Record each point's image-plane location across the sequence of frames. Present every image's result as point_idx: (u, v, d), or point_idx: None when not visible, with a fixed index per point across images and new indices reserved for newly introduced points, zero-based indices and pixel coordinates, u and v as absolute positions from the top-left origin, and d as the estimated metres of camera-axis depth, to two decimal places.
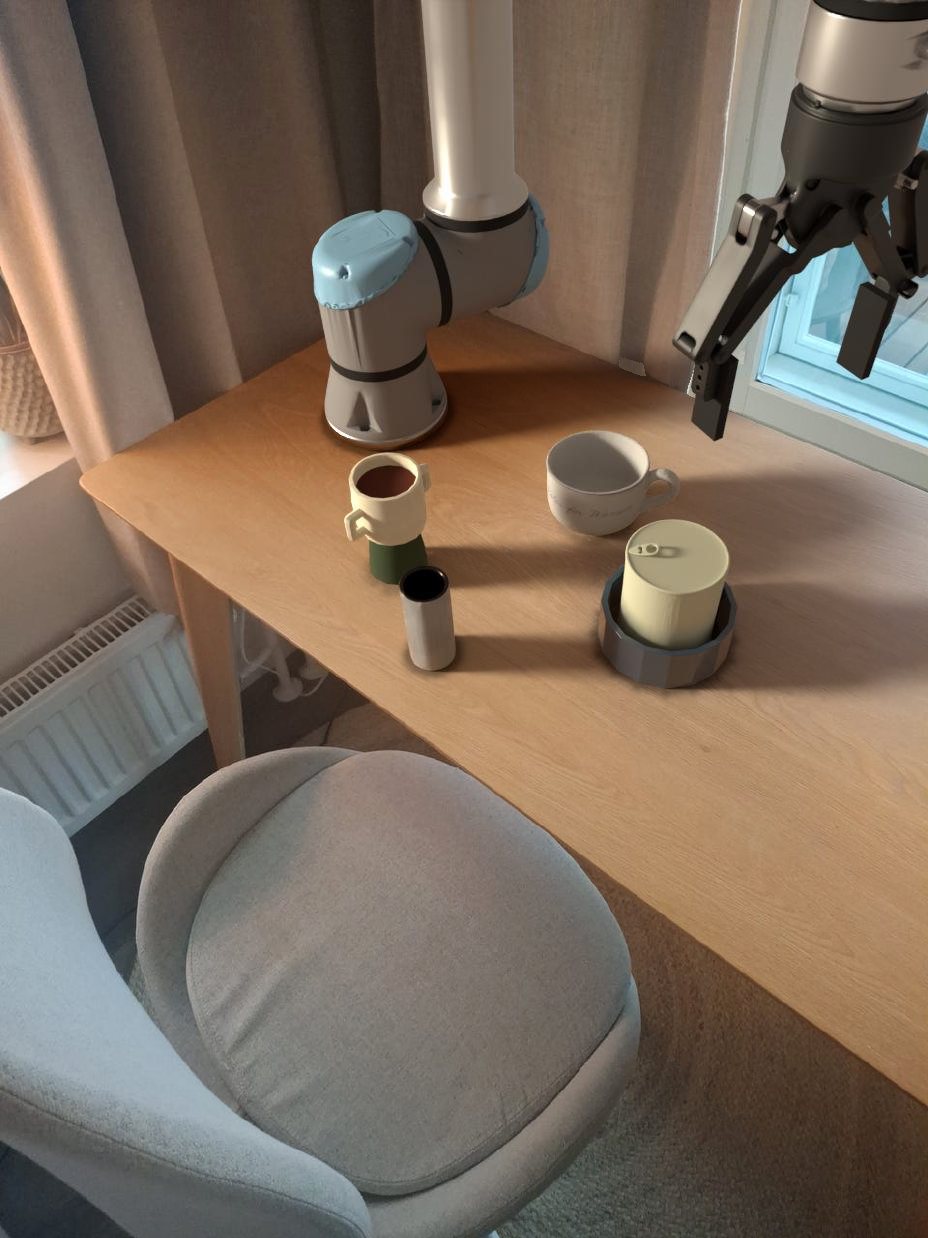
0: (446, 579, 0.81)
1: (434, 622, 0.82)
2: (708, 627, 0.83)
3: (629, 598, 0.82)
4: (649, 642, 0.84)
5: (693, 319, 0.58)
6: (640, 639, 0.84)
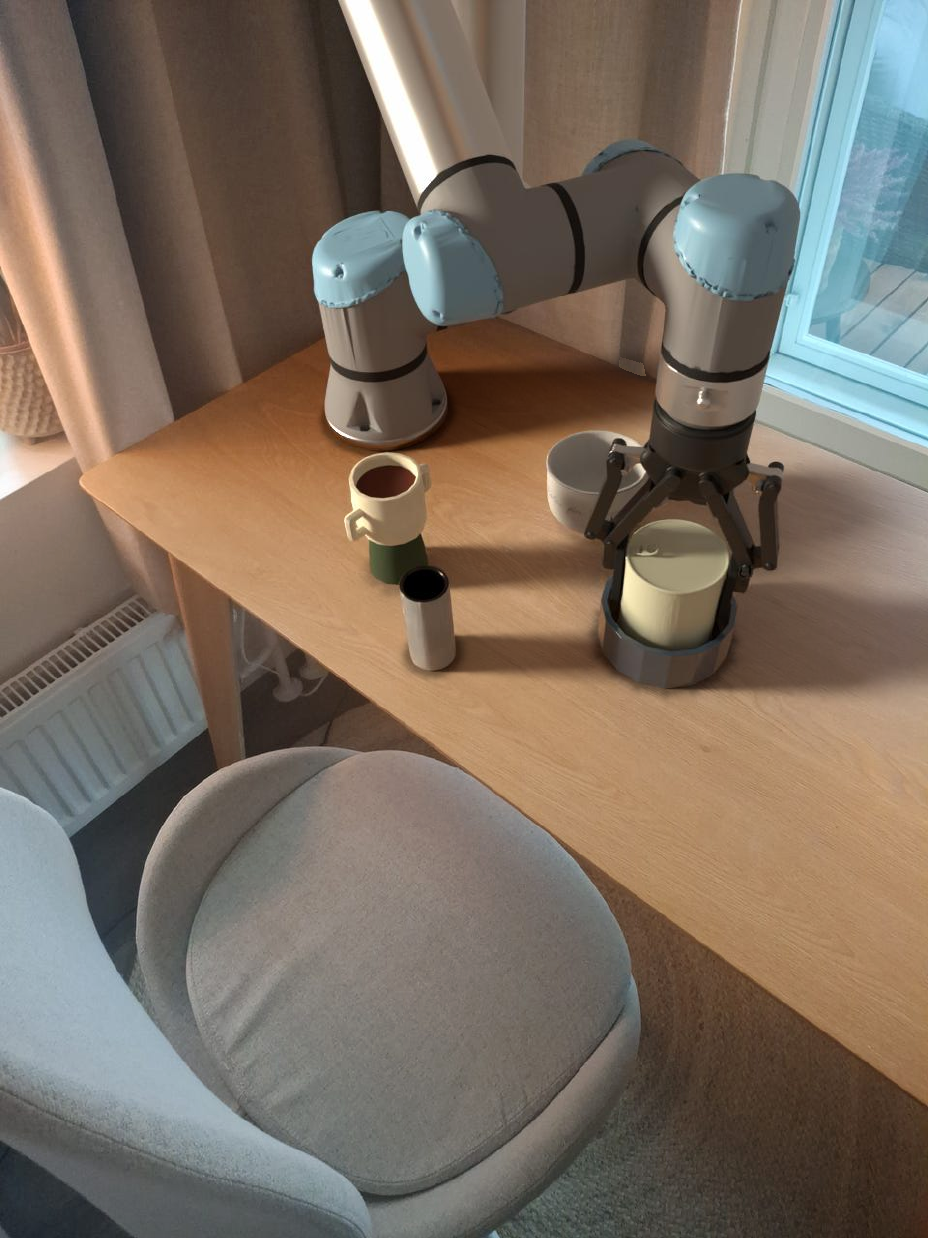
0: (446, 579, 0.81)
1: (434, 622, 0.82)
2: (708, 627, 0.83)
3: (629, 598, 0.82)
4: (649, 642, 0.84)
5: (593, 508, 0.79)
6: (640, 639, 0.84)
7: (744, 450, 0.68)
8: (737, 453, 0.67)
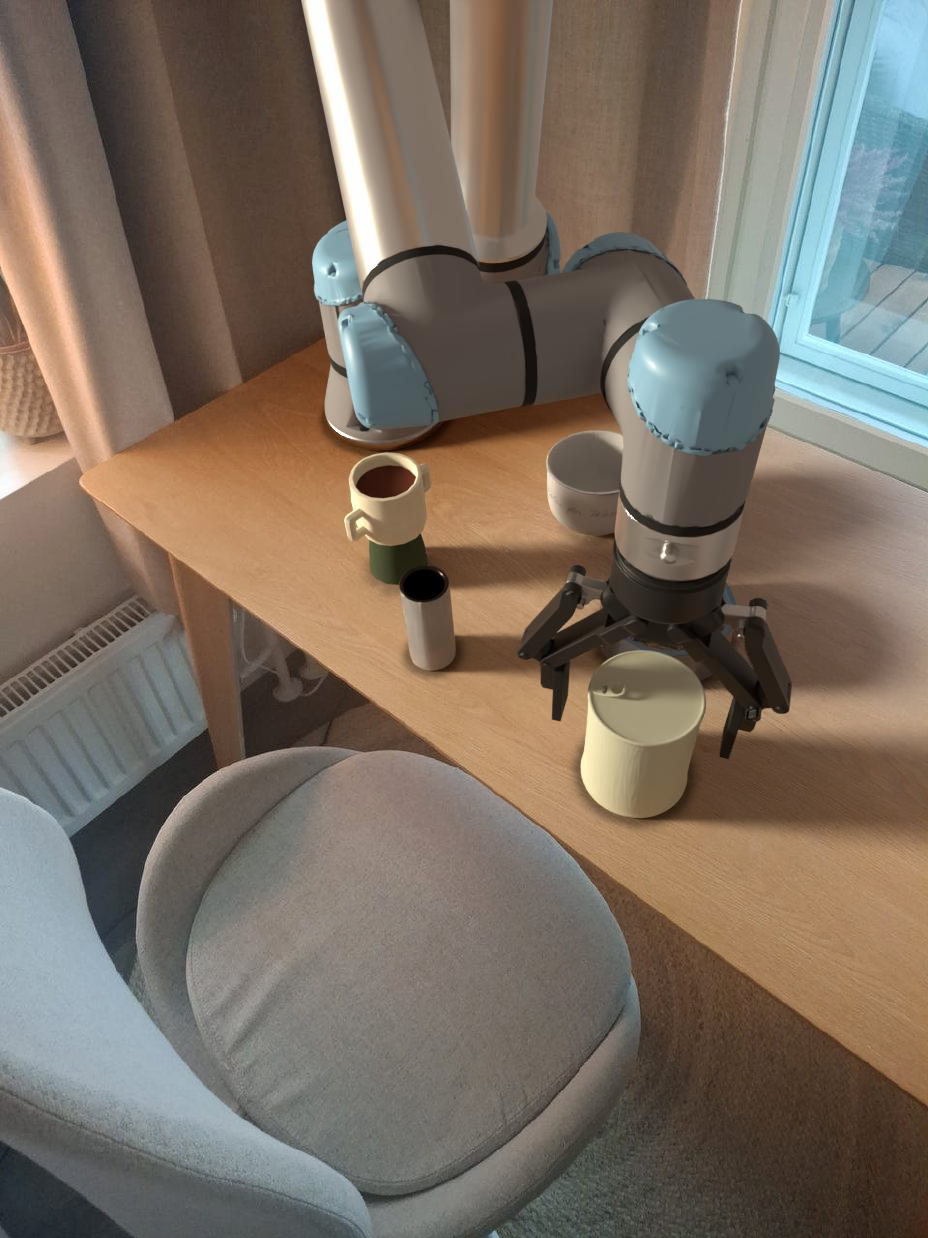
0: (446, 579, 0.81)
1: (434, 622, 0.82)
2: (682, 772, 0.74)
3: (592, 741, 0.73)
4: (616, 787, 0.74)
5: (532, 626, 0.69)
6: (606, 783, 0.75)
7: (718, 599, 0.59)
8: (710, 604, 0.58)
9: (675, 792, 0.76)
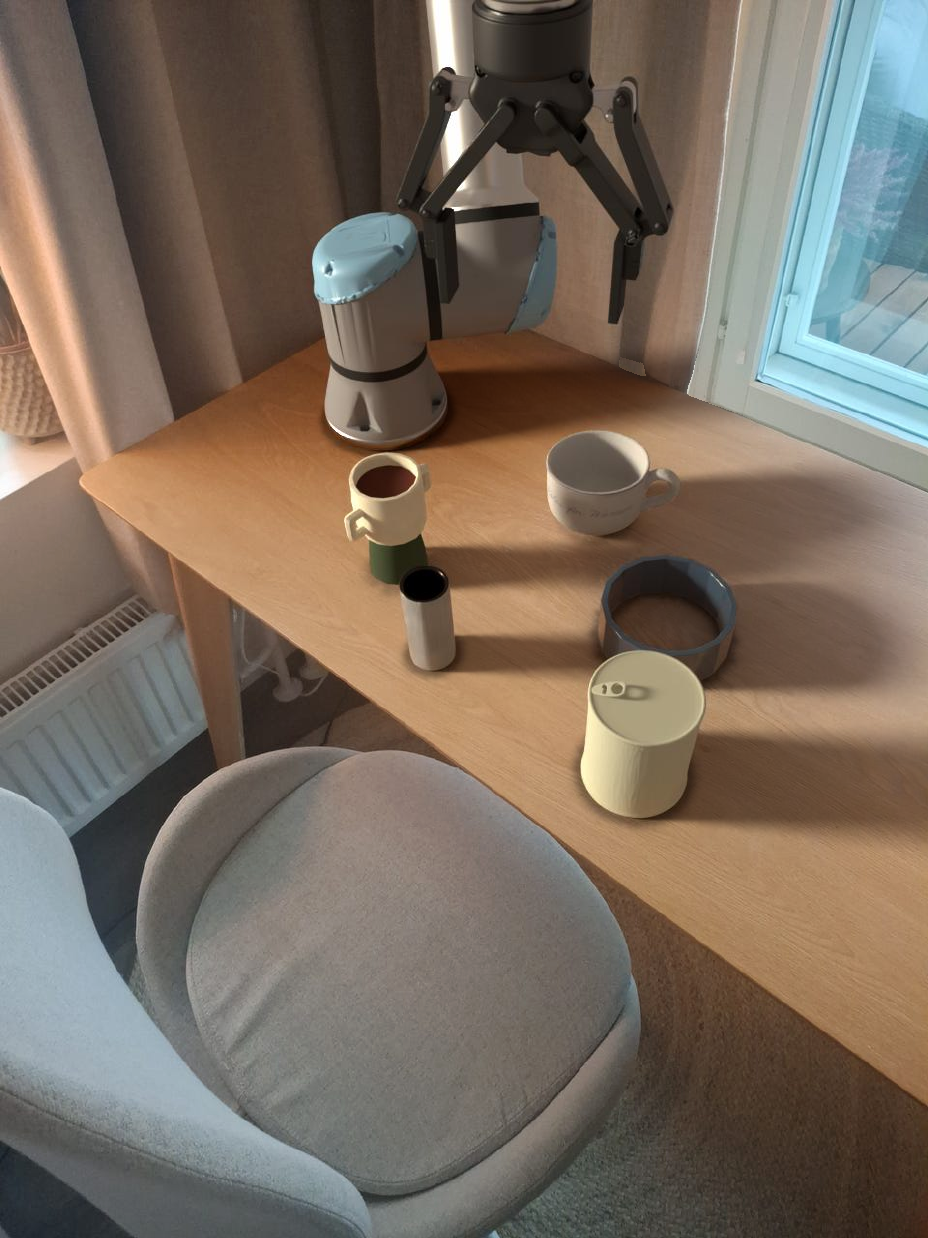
0: (446, 579, 0.81)
1: (434, 622, 0.82)
2: (682, 772, 0.74)
3: (592, 741, 0.73)
4: (616, 787, 0.74)
5: None
6: (606, 783, 0.75)
7: (580, 55, 0.56)
8: (570, 54, 0.56)
9: (675, 792, 0.76)
